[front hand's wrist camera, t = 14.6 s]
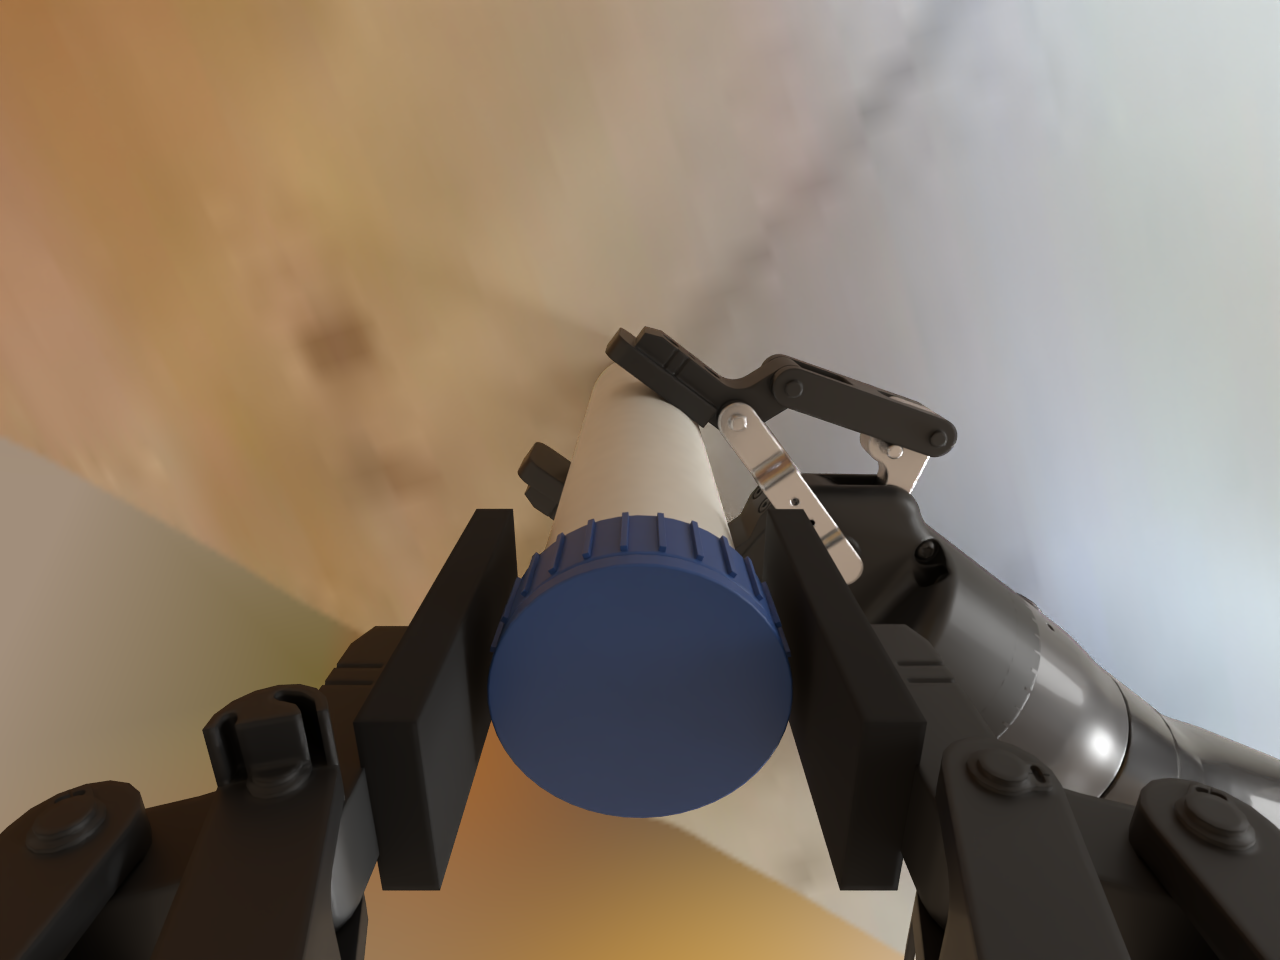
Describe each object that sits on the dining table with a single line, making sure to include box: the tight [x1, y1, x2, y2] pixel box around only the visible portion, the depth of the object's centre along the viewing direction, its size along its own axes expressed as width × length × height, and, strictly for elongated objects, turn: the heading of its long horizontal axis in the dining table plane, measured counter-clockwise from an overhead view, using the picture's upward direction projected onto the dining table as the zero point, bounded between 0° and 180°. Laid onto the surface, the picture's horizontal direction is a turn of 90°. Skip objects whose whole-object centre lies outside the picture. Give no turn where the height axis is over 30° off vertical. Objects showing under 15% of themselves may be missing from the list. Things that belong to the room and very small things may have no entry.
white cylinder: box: [545, 362, 735, 550], centre depth 20 cm, size 4×4×18 cm
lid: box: [487, 512, 793, 818], centre depth 11 cm, size 5×5×2 cm
